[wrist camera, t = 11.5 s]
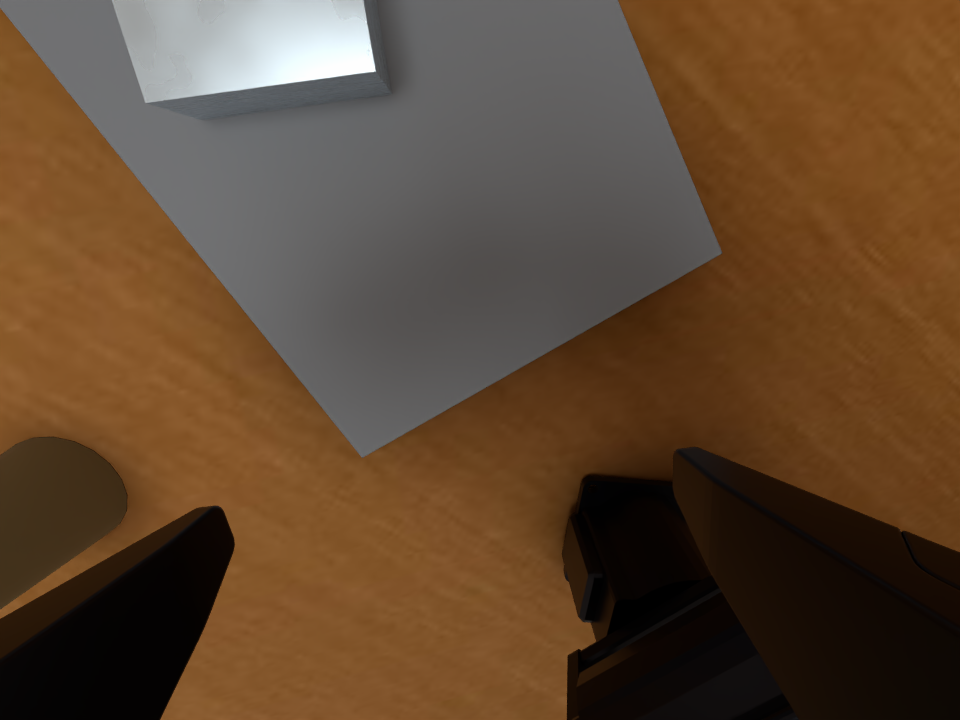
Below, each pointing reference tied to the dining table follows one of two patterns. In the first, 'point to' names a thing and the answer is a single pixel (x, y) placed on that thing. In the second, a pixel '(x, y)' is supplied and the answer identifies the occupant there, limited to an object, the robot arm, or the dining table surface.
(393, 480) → the dining table surface
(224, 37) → the silver rectangular block
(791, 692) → the robot arm
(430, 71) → the mount board
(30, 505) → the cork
